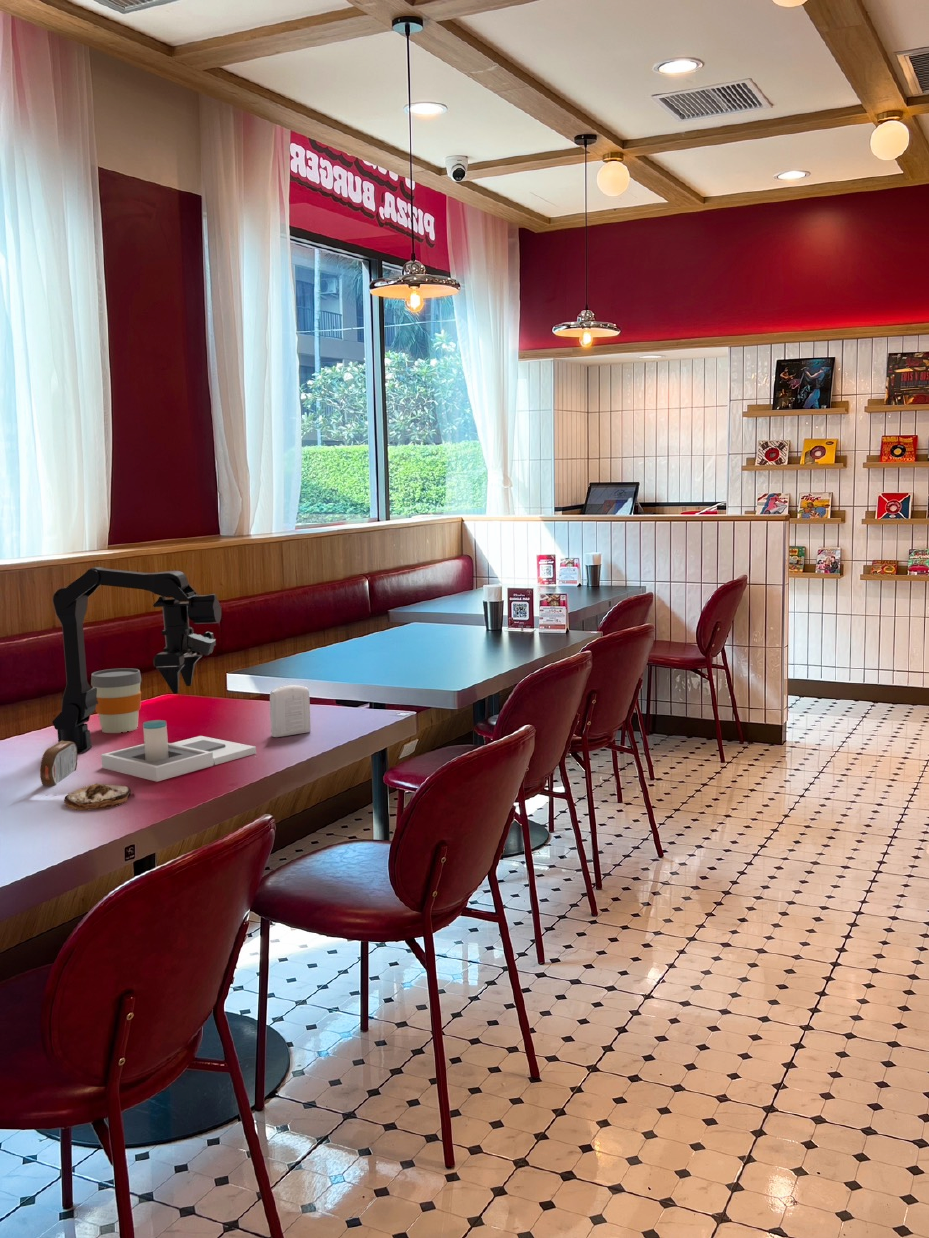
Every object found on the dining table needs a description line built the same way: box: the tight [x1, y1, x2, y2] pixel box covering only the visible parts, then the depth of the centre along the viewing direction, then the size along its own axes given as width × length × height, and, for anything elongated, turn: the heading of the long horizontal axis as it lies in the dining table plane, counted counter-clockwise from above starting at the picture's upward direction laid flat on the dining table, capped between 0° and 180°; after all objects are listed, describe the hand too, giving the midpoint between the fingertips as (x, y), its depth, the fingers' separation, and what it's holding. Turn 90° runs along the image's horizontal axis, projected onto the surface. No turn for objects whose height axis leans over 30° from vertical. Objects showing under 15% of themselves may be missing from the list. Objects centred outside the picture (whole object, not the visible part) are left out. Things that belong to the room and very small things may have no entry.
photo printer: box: [269, 684, 312, 738], centre depth 277 cm, size 10×4×12 cm, turn 123°
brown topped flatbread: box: [63, 783, 131, 811], centre depth 225 cm, size 15×15×4 cm
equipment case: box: [100, 735, 257, 783], centre depth 251 cm, size 20×28×4 cm
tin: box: [39, 741, 78, 787], centre depth 239 cm, size 15×3×8 cm, turn 178°
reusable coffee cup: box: [90, 667, 143, 734], centre depth 287 cm, size 13×13×15 cm
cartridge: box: [142, 719, 169, 762], centre depth 246 cm, size 5×5×10 cm
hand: (182, 689), depth 262 cm, fingers open, 9 cm apart
